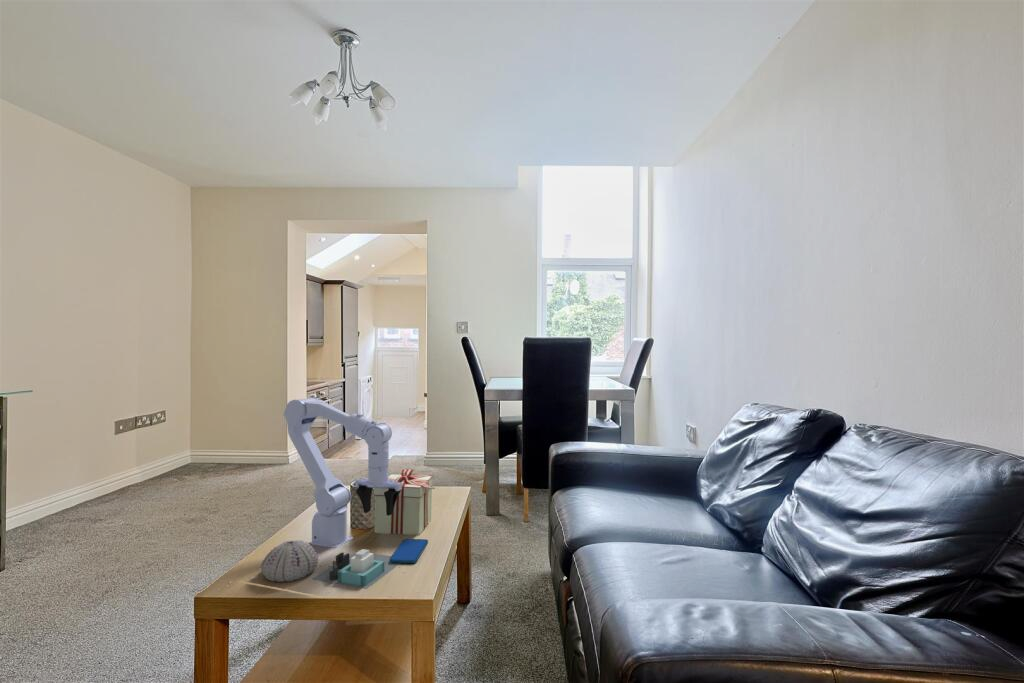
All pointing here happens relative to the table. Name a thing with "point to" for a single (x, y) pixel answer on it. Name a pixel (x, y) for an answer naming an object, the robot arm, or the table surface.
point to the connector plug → (362, 561)
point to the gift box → (405, 505)
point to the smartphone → (409, 551)
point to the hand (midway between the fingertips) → (378, 513)
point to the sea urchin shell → (289, 561)
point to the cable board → (344, 576)
